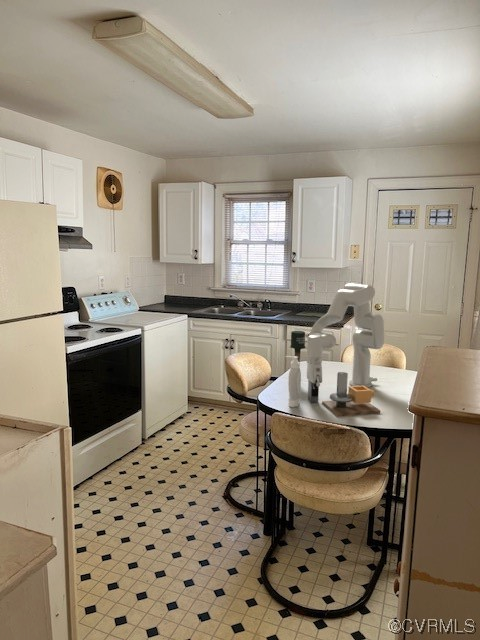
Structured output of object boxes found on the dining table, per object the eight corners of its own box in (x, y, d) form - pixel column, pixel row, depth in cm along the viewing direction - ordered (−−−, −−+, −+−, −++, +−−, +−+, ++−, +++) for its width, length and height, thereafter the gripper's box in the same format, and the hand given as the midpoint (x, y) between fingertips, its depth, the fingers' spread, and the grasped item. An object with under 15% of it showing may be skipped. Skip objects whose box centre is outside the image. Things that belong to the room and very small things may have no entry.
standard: (346, 402, 236) (348, 369, 233) (356, 409, 225) (358, 375, 223) (325, 403, 233) (327, 370, 231) (335, 411, 223) (336, 377, 220)
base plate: (362, 401, 242) (362, 398, 242) (380, 413, 225) (380, 410, 224) (322, 404, 237) (322, 401, 237) (337, 416, 220) (337, 413, 219)
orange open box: (369, 396, 237) (369, 385, 236) (377, 401, 229) (378, 389, 228) (348, 398, 234) (348, 386, 233) (355, 403, 226) (356, 391, 225)
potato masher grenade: (294, 386, 267) (296, 333, 262) (286, 382, 274) (287, 331, 270) (307, 384, 271) (308, 332, 266) (298, 380, 278) (300, 330, 273)
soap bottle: (287, 399, 244) (288, 353, 240) (302, 401, 241) (303, 354, 237) (280, 407, 232) (281, 358, 228) (295, 409, 229) (297, 360, 225)
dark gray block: (315, 399, 244) (315, 380, 242) (318, 401, 240) (318, 382, 238) (307, 399, 243) (308, 380, 241) (310, 402, 239) (311, 383, 237)
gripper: (328, 363, 230) (326, 399, 233) (315, 355, 246) (313, 389, 250) (313, 364, 229) (312, 400, 232) (301, 356, 245) (300, 390, 248)
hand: (313, 394), depth 241 cm, fingers closed on dark gray block, 4 cm apart
